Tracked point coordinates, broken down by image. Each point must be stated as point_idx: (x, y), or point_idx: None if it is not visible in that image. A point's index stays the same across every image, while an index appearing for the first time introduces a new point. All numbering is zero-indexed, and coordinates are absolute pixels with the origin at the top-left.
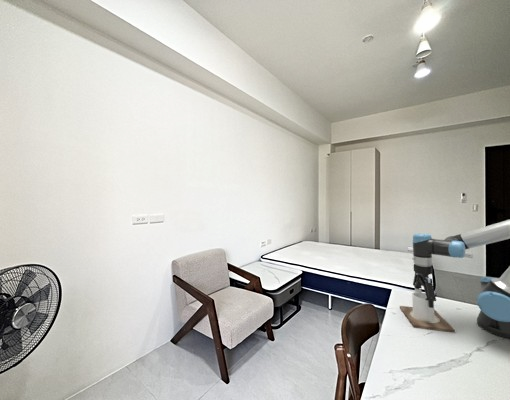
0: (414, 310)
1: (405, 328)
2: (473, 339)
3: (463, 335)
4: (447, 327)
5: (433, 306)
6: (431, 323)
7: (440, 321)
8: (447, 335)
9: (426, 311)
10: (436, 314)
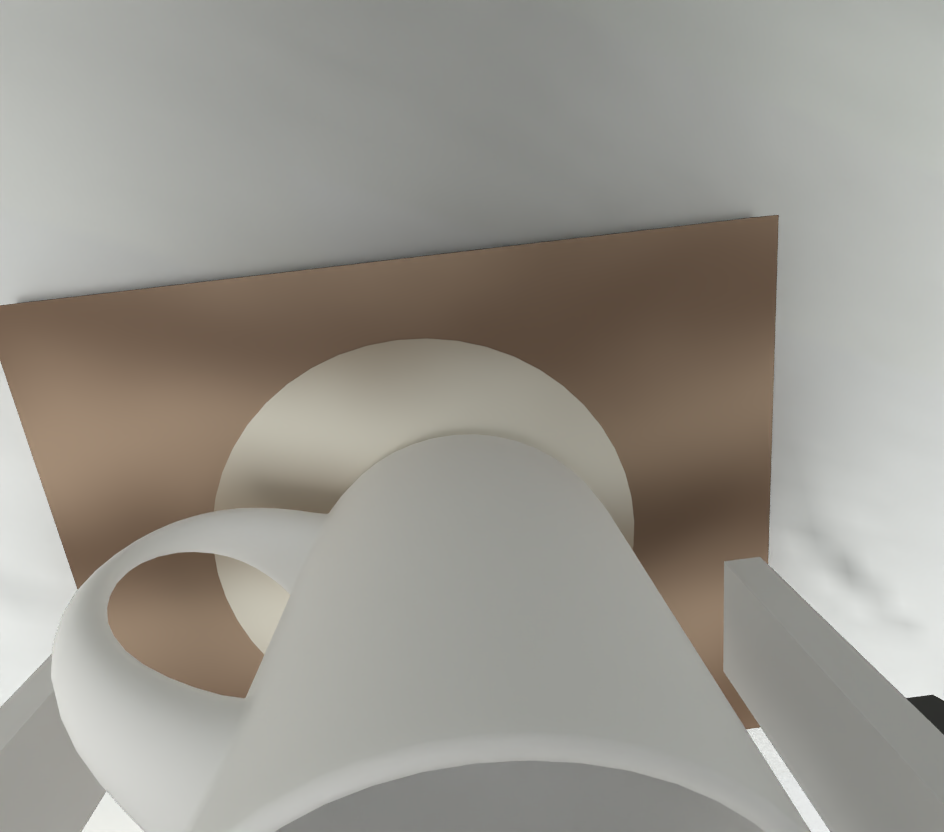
0: (537, 773)
1: (792, 778)
2: (902, 8)
3: (808, 119)
4: (716, 306)
5: (889, 688)
6: (649, 503)
7: (527, 350)
8: (858, 356)
9: (741, 693)
10: (242, 333)
